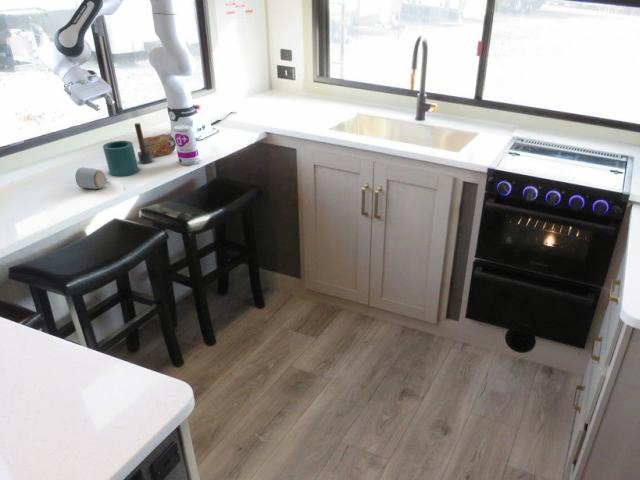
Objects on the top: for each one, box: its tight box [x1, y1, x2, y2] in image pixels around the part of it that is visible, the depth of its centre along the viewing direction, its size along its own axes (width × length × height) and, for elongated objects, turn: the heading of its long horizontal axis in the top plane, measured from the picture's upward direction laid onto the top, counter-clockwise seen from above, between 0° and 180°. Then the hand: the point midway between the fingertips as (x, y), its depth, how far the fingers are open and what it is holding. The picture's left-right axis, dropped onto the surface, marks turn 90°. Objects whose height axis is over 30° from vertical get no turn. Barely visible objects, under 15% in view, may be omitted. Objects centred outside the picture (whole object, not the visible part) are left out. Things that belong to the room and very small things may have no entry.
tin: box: [138, 133, 176, 159], centre depth 249 cm, size 15×3×8 cm, turn 131°
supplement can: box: [173, 124, 200, 166], centre depth 240 cm, size 8×8×15 cm
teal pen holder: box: [102, 140, 139, 177], centre depth 231 cm, size 11×11×11 cm
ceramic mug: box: [75, 166, 109, 190], centre depth 218 cm, size 11×8×8 cm
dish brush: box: [134, 122, 153, 165], centre depth 240 cm, size 5×5×16 cm
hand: (106, 106), depth 234 cm, fingers open, 8 cm apart
